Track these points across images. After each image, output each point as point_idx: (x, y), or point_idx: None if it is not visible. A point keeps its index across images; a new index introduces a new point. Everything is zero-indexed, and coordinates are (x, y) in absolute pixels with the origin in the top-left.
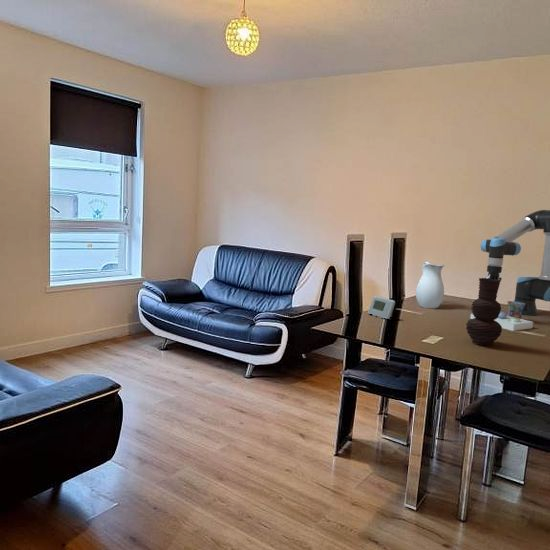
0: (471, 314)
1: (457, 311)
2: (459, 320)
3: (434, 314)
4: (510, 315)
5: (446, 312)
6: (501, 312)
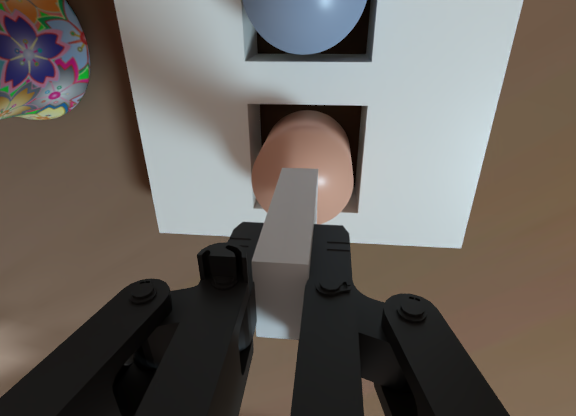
0: (461, 238)
1: (257, 387)
2: (572, 237)
3: (526, 399)
4: (49, 57)
5: (369, 398)
6: (292, 4)
